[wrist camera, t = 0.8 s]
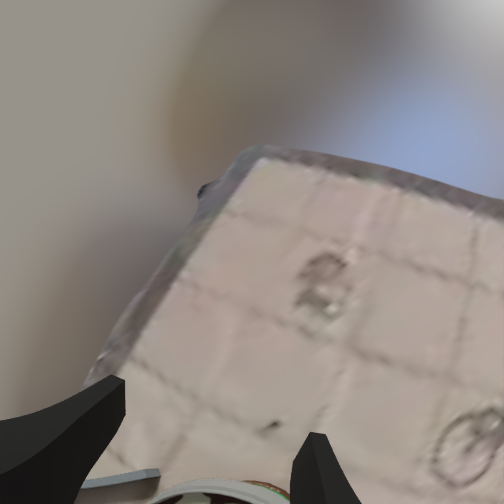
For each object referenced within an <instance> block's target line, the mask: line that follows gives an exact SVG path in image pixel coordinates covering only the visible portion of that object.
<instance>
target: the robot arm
mask: <svg viewBox="0 0 504 504" xmlns="http://www.w3.org/2000/svg"><path fill="white" fill-rule="evenodd" d="M125 415H126V410H125V380H123V379H121V378H119V377H116V376H114V375H109V376H107V377H106V378H104V379H102V380H101V381H99V382H97V383H95V384H94V385H92V386H90V387H88V388H87V389H85V390H83V391H81V392H79V393H77V394H76V395H74V396H72V397H70V398H68V399H66V400H64V401H62V402H60V403H57V404H55V405H53V406H50V407H48V408H45V409H43V410H40V411H37V412H34V413H32V414H28V415H24V416H20V417H16V418H12V419H7V420H1V421H0V504H73V503H74V501H75V499H76V496H77V494H78V492H79V490H80V488H81V486H82V484H83V482H84V480H85V479H86V477H87V475H88V474H89V472H90V470H91V469H92V467H93V466H94V465H95V463H96V462H97V460H98V459H99V457H100V456H101V455H102V453H103V452H104V450H105V449H106V447H107V446H108V445H109V443H110V442H111V440H112V439H113V437H114V436H115V434H116V433H117V431H118V429H119V427H120V425H121V423H122V421H123V419H124V417H125ZM290 504H362V503H361V502H360V500H359V499H358V497H357V496H356V494H355V492H354V491H353V489H352V488H351V486H350V484H349V482H348V480H347V479H346V477H345V475H344V473H343V471H342V469H341V467H340V465H339V463H338V461H337V459H336V456H335V454H334V452H333V450H332V447H331V445H330V443H329V441H328V438H327V436H326V434H321V433H314V432H310V433H309V435H308V437H307V438H306V440H305V442H304V444H303V445H302V447H301V449H300V451H299V452H298V454H297V456H296V458H295V459H294V461H293V466H292V473H291V480H290Z"/></svg>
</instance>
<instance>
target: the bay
mask: <svg viewBox="0 0 504 504" xmlns="http://www.w3.org/2000/svg"><path fill="white" fill-rule="evenodd" d="M158 476H161V475H160V473H159V470H158V468H156V469H143V470H139V471H134V472H129V473H125V474H120V475H114V476H109V477H103V478H97V479H90V480H84V482H83V484H82V486H81V488H80V490H83V489H91V488H99V487H106V486H112V485H119V484H124V483H130V482H135V481H140V480H145V479H149V478H154V477H158Z"/></svg>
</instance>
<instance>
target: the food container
mask: <svg viewBox="0 0 504 504" xmlns="http://www.w3.org/2000/svg"><path fill="white" fill-rule="evenodd" d="M147 504H290V494H288V493H287V492H286V491H285V490H283V489H281V488H278V487H276V486H274V485H272V484H269V483H265V482H259V481H235V480H230V479H215V478H212V479H198V480H193V481H188V482H184V483H181V484H178V485H176V486H173V487H171V488H169V489H167V490H166V491H164V492H162V493H161V494H159V495H158V496H156V497H155V498H154V499H152V500H151V501H150V502H149V503H147Z"/></svg>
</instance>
